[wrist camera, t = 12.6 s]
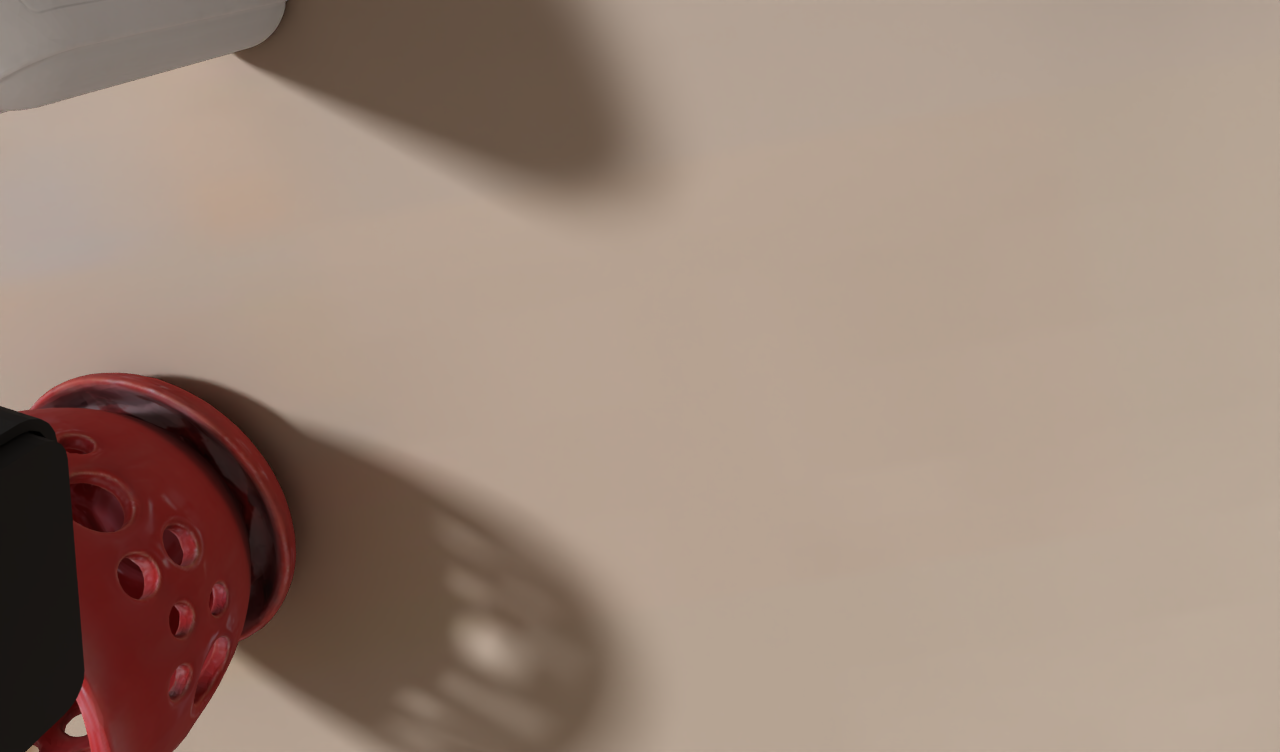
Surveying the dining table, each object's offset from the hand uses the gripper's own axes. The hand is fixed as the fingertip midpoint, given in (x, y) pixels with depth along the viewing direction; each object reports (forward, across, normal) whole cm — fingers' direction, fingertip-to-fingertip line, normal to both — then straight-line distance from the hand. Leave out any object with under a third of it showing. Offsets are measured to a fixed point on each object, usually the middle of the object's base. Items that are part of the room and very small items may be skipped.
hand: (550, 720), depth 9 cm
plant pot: (+25, +22, +20) cm, 39 cm away
